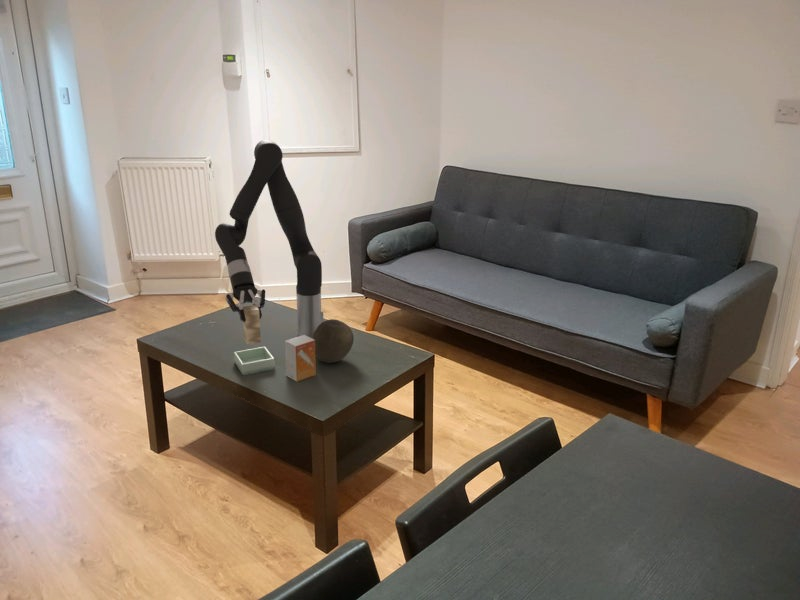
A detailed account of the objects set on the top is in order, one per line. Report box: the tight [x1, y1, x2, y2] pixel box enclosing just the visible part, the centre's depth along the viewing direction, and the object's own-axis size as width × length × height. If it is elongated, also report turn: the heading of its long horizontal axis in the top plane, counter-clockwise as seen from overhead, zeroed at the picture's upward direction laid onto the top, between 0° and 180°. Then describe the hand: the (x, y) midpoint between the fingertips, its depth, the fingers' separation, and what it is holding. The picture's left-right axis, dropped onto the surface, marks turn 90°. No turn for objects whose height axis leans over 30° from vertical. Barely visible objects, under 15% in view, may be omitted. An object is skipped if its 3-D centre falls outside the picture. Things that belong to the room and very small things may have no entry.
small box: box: [284, 335, 317, 383], centre depth 224 cm, size 8×6×13 cm
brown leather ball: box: [312, 319, 355, 364], centre depth 234 cm, size 14×14×15 cm
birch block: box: [242, 304, 262, 345], centre depth 227 cm, size 4×4×12 cm
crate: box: [233, 346, 276, 376], centre depth 231 cm, size 11×11×4 cm
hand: (252, 319), depth 225 cm, fingers closed on birch block, 4 cm apart
